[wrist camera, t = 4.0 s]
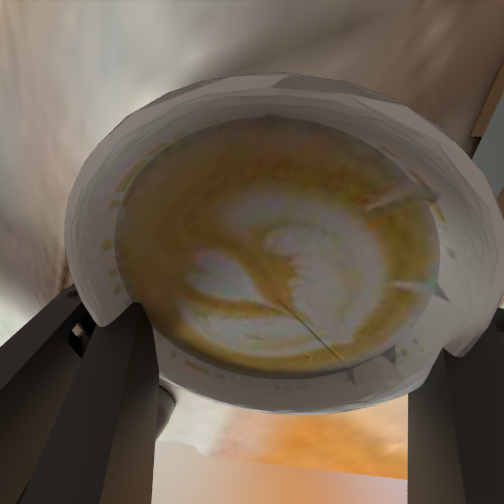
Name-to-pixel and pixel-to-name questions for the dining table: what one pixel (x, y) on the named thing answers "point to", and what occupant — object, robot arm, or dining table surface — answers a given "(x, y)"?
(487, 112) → the picture frame
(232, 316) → the coffee mug
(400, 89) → the dining table surface
